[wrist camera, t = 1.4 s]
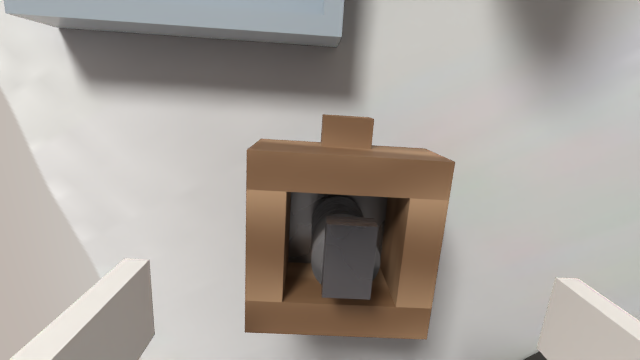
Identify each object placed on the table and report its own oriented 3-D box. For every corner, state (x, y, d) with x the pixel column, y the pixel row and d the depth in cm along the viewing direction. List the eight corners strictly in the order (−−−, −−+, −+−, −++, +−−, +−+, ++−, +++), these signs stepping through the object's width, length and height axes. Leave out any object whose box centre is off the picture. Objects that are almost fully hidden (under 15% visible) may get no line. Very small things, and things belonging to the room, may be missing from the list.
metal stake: (377, 249, 24) (422, 351, 14) (281, 244, 24) (259, 345, 14) (388, 153, 22) (446, 195, 13) (284, 147, 22) (263, 185, 12)
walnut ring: (404, 293, 20) (426, 339, 17) (258, 287, 20) (244, 332, 16) (428, 121, 18) (460, 127, 14) (261, 110, 18) (247, 113, 14)
